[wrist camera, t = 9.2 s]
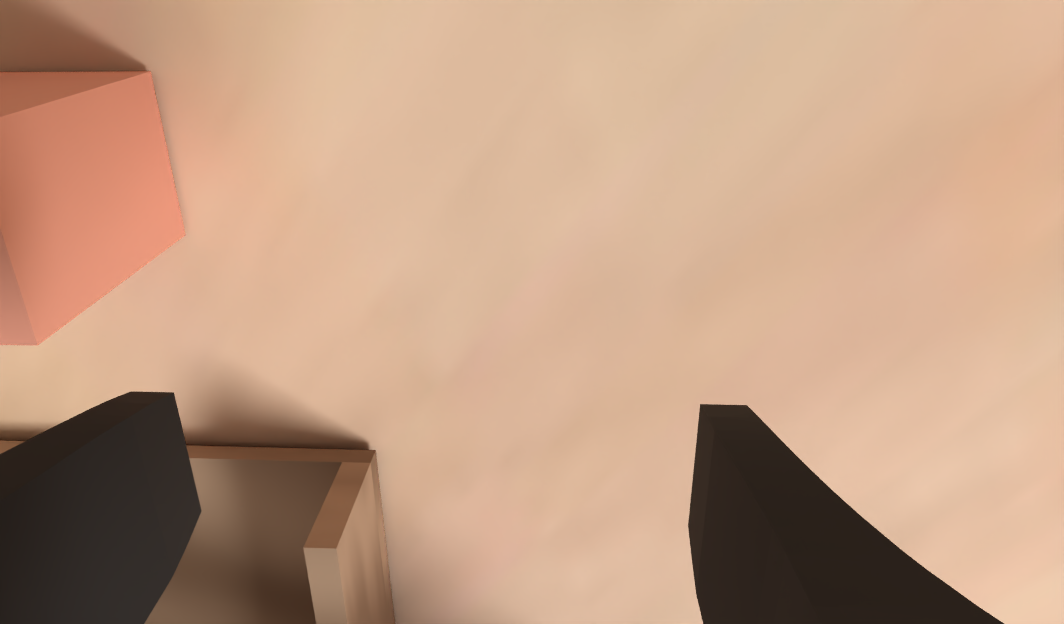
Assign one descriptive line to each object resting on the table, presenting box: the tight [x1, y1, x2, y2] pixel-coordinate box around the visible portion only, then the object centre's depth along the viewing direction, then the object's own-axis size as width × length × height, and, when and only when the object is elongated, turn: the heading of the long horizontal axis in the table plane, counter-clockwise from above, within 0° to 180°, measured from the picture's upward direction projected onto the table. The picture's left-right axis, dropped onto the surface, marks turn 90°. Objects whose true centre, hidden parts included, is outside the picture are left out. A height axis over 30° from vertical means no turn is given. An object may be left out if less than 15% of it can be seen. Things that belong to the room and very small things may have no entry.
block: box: [0, 71, 185, 345], centre depth 16 cm, size 4×4×6 cm
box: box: [0, 441, 395, 624], centre depth 23 cm, size 9×13×4 cm
